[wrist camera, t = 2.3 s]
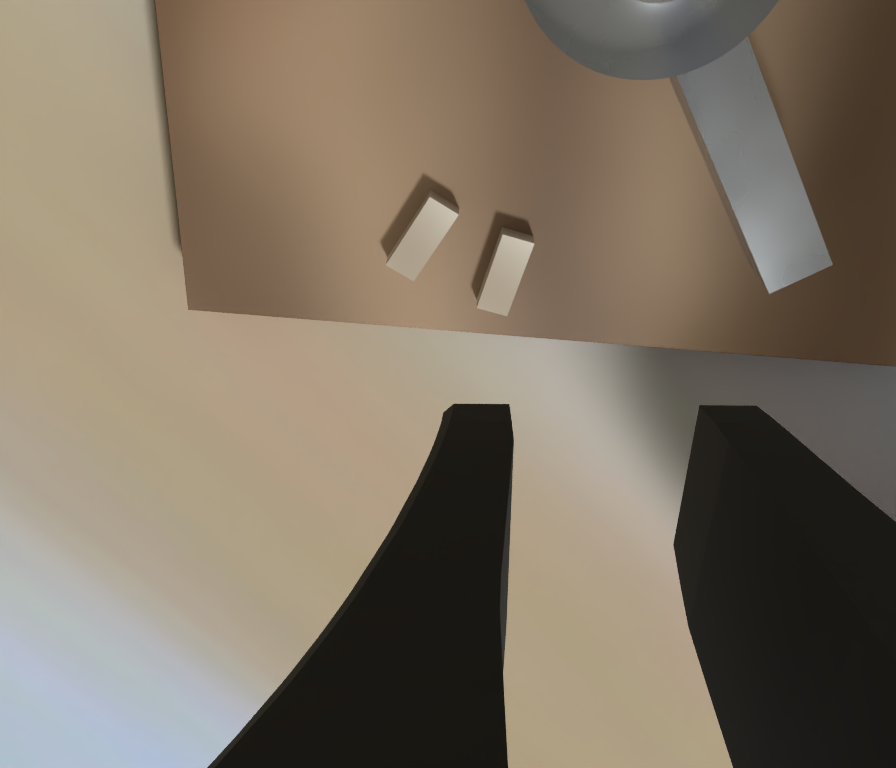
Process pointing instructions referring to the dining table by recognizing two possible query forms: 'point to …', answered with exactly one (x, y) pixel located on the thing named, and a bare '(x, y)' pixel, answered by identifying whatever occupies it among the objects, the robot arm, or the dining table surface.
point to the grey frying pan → (708, 110)
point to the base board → (517, 177)
